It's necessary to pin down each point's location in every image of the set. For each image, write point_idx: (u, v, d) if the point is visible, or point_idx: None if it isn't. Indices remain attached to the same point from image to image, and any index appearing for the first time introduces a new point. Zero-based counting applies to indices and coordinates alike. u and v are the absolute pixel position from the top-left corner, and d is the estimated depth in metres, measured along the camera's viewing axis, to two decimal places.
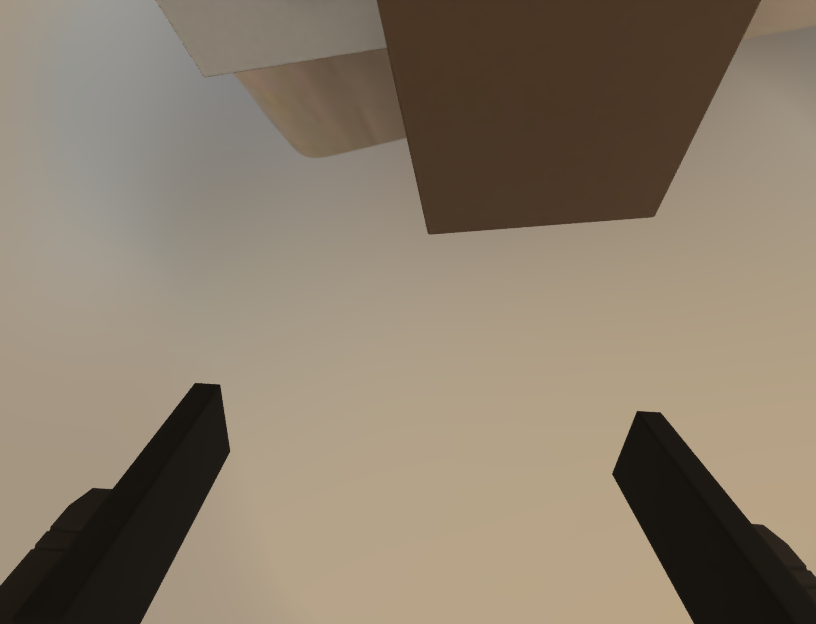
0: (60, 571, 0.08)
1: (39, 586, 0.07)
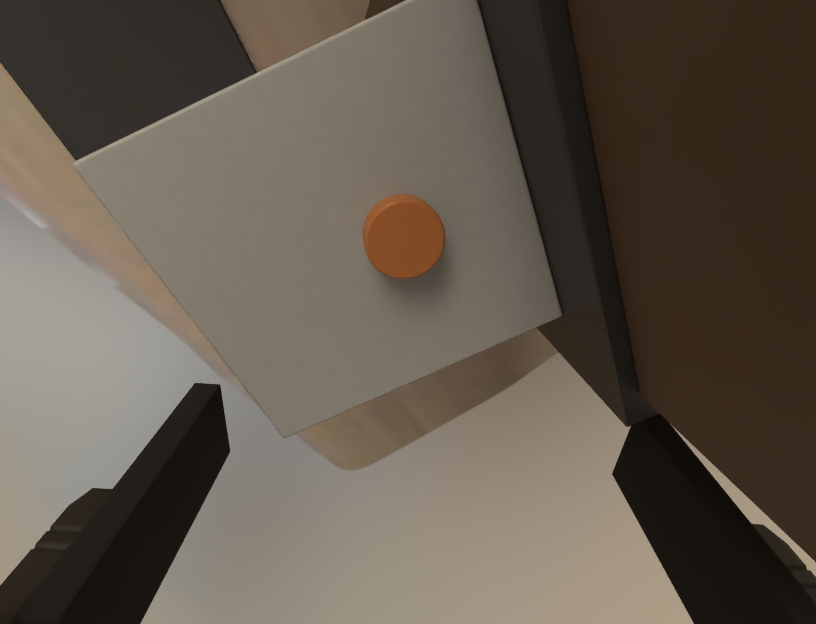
0: (60, 571, 0.08)
1: (39, 586, 0.07)
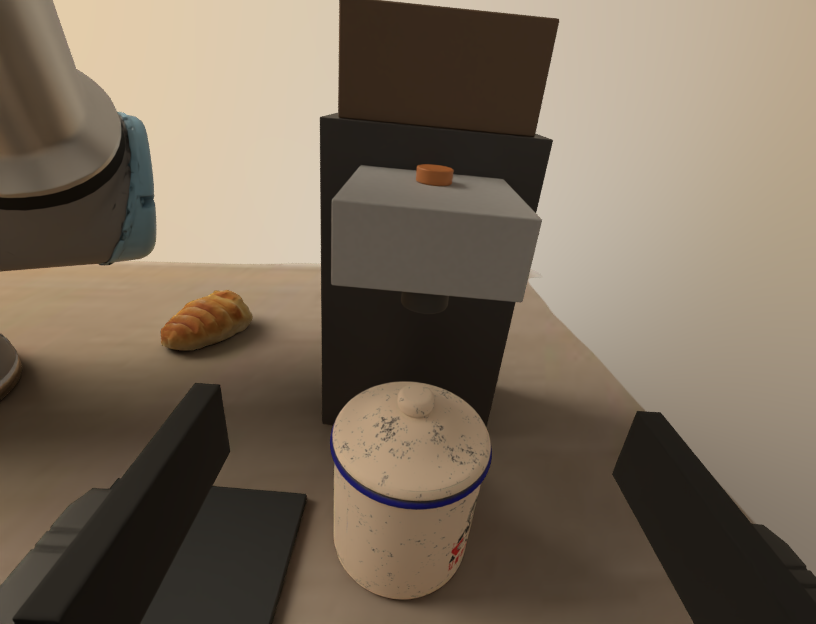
0: (60, 571, 0.08)
1: (39, 586, 0.07)
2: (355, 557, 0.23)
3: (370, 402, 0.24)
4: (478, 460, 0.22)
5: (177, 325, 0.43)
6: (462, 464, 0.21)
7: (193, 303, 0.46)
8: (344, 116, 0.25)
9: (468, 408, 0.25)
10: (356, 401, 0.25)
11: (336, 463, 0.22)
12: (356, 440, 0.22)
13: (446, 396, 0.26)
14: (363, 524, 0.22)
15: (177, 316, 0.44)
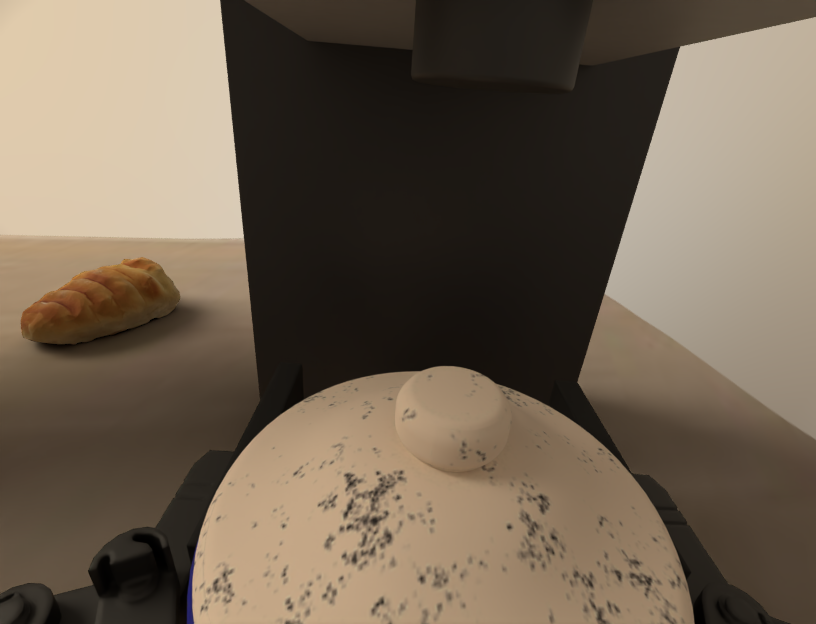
0: None
1: (201, 522, 0.09)
2: None
3: (320, 425, 0.09)
4: (675, 610, 0.06)
5: (48, 304, 0.27)
6: None
7: (84, 274, 0.30)
8: None
9: (574, 429, 0.10)
10: (286, 423, 0.09)
11: None
12: (262, 559, 0.06)
13: (514, 401, 0.10)
14: None
15: (52, 292, 0.29)
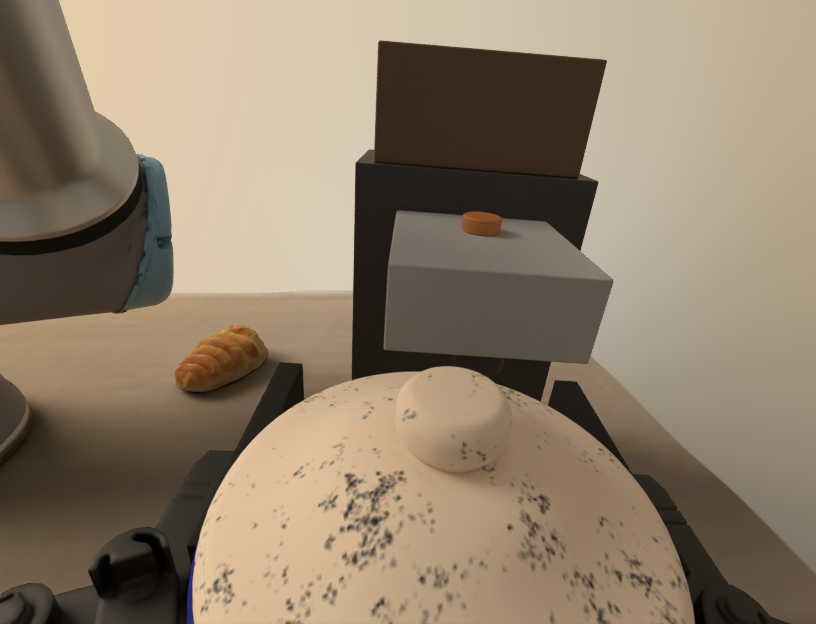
0: None
1: (201, 522, 0.09)
2: None
3: (320, 425, 0.09)
4: (676, 611, 0.06)
5: (193, 365, 0.41)
6: None
7: (208, 341, 0.44)
8: (380, 161, 0.24)
9: (574, 429, 0.10)
10: (286, 423, 0.09)
11: None
12: (262, 559, 0.06)
13: (514, 401, 0.10)
14: None
15: (192, 355, 0.43)
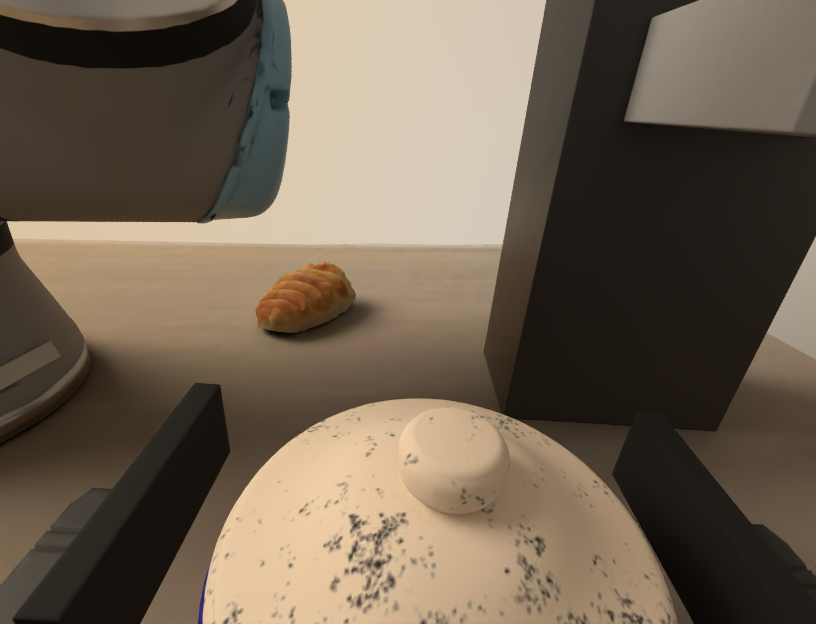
0: (60, 571, 0.08)
1: (39, 586, 0.07)
2: None
3: (324, 459, 0.09)
4: None
5: (279, 301, 0.34)
6: None
7: (289, 276, 0.37)
8: None
9: (570, 460, 0.10)
10: (291, 455, 0.10)
11: None
12: (270, 599, 0.07)
13: (512, 431, 0.11)
14: None
15: (274, 291, 0.35)
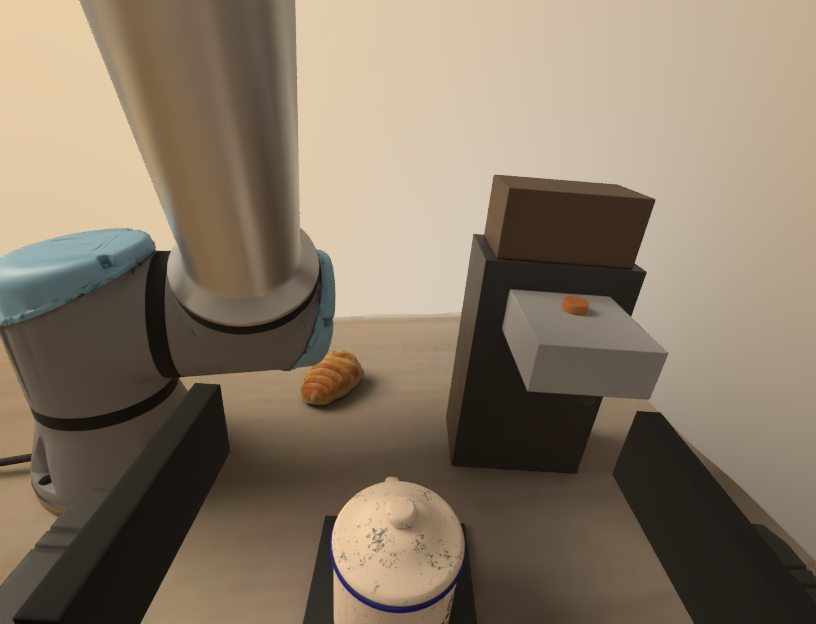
0: (60, 571, 0.08)
1: (39, 586, 0.07)
2: None
3: (363, 509, 0.29)
4: (453, 563, 0.26)
5: (316, 384, 0.53)
6: (440, 569, 0.26)
7: (321, 364, 0.56)
8: (501, 257, 0.36)
9: (446, 508, 0.30)
10: (351, 507, 0.29)
11: (336, 571, 0.26)
12: (352, 550, 0.26)
13: (427, 497, 0.30)
14: (359, 621, 0.26)
15: (312, 376, 0.55)
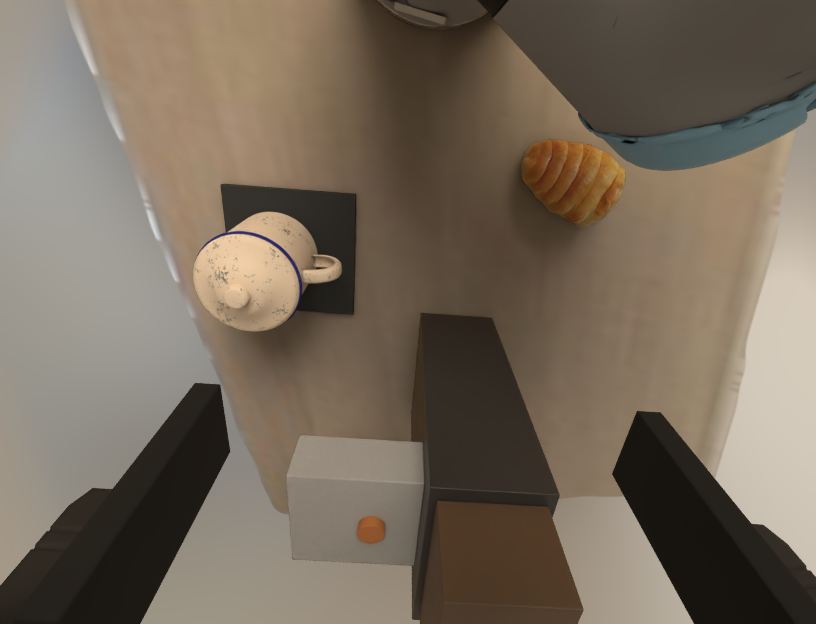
0: (60, 571, 0.08)
1: (39, 586, 0.07)
2: None
3: (252, 261, 0.33)
4: (225, 322, 0.36)
5: (543, 165, 0.38)
6: (217, 313, 0.36)
7: (588, 168, 0.37)
8: (435, 505, 0.26)
9: (270, 324, 0.36)
10: (259, 250, 0.33)
11: (213, 238, 0.34)
12: (219, 253, 0.33)
13: (276, 312, 0.36)
14: None
15: (563, 157, 0.37)
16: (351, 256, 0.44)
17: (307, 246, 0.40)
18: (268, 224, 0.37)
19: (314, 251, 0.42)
